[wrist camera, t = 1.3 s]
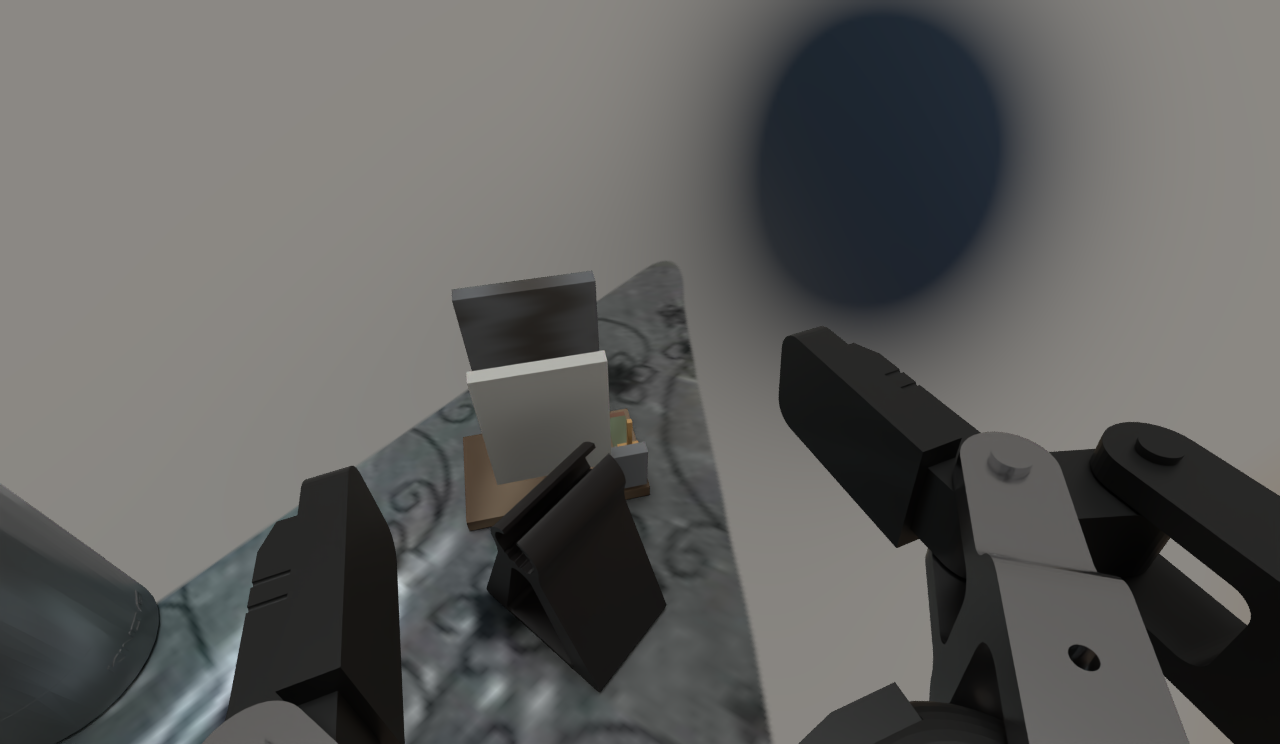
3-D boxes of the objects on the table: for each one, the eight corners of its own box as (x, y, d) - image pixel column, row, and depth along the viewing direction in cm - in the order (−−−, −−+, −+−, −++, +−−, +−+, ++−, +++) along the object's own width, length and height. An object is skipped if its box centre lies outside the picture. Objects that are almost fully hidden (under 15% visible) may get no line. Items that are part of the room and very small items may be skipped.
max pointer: (621, 474, 40) (620, 430, 36) (617, 460, 41) (616, 415, 37) (641, 470, 40) (642, 426, 37) (637, 456, 41) (638, 411, 37)
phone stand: (487, 591, 36) (441, 479, 27) (557, 522, 39) (536, 402, 30) (599, 694, 32) (587, 603, 23) (666, 608, 35) (677, 499, 26)
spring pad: (505, 511, 38) (467, 383, 29) (504, 501, 38) (466, 372, 30) (646, 483, 39) (651, 354, 31) (644, 474, 40) (647, 343, 31)
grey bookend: (469, 530, 38) (411, 385, 28) (465, 445, 43) (414, 294, 33) (649, 494, 40) (655, 346, 30) (627, 416, 45) (625, 266, 35)
